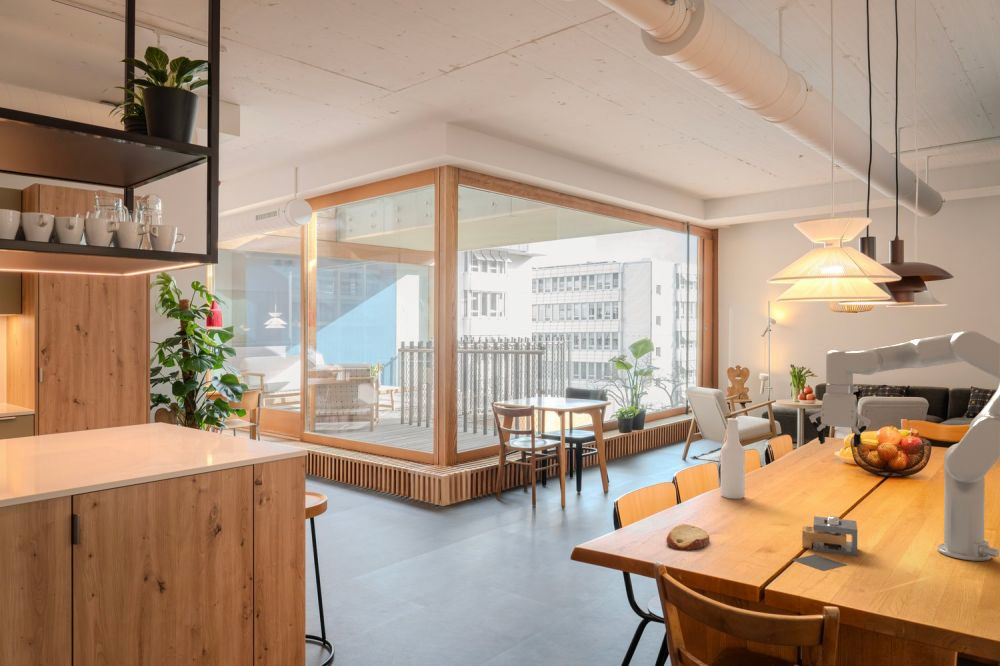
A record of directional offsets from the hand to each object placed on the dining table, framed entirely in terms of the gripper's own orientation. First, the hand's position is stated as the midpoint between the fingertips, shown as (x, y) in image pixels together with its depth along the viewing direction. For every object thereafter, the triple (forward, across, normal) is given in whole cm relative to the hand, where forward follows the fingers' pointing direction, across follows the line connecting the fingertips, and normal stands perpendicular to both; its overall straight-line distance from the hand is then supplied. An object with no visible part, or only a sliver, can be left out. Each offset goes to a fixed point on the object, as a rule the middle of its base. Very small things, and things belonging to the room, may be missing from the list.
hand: (839, 445), depth 213 cm
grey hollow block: (+28, -2, +16) cm, 33 cm away
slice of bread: (+29, +35, +34) cm, 57 cm away
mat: (+28, -2, +31) cm, 42 cm away
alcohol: (+28, +44, -30) cm, 60 cm away
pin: (+28, -2, +16) cm, 33 cm away
